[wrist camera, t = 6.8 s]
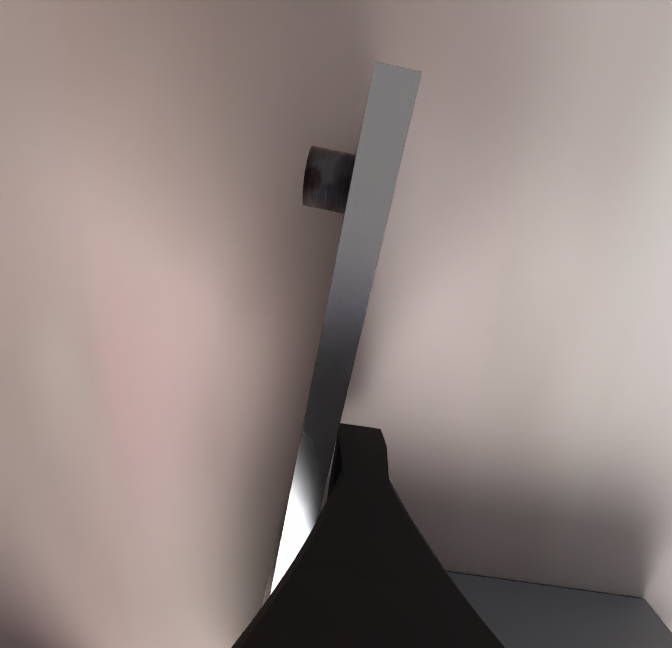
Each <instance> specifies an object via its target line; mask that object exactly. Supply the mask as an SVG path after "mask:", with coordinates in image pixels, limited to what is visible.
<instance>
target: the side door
mask: <svg viewBox="0 0 672 648" xmlns="http://www.w3.org/2000/svg"><path fill="white" fill-rule="evenodd" d="M421 73H422V72H420V71H416V70H411V69H407V68H402V67H398V66H393V65H388V64H384V63H379V62H374V67H373V72H372V78H371V83H370V88H369V93H368V98H367V103H366V108H365V113H364V118H363V124H362V129H361V134H360V139H359V144H358V149H357V154H356V155H354V154H349V153H344V152H340V151H335V150H330V149H325V148H321V147H316V146H312V147H311V149H310V152H309V155H308V159H307V164H306V169H305V176H304V184H303V205H305V206H310V207H314V208H319V209H324V210H329V211H334V212H339V213H343V214H345V216H344V221H343V226H342V231H341V236H340V241H339V246H338V251H337V256H336V262H335V267H334V272H333V277H332V282H331V287H330V292H329V297H328V302H327V308H326V313H325V318H324V323H323V328H322V333H321V338H320V343H319V348H318V354H317V359H316V364H315V369H314V374H313V379H312V384H311V389H310V394H309V400H308V405H307V410H306V415H305V420H304V425H303V430H302V435H301V440H300V446H299V451H298V456H297V461H296V466H295V471H294V476H293V481H292V487H291V492H290V497H289V502H288V507H287V512H286V517H285V522H284V527H283V531H281V532H280V533H279V534H278V536H277V540H276V545H275V549H274V553H273V558H272V562H271V567H270V571H269V575H268V580H267V584H266V589H265V593H264V598H263V602H262V606H263V605H264V603H265V602H266V600H267V599H268V598H269V596H270V595H271V593H272V592H273V590H274V589H275V587H276V586H277V584H278V583H279V581H280V580H281V578H282V577H283V575H284V574H285V572H286V571H287V569H288V568H289V566H290V565H291V563H292V562H293V560H294V559H295V557H296V555H297V554H298V552H299V550H300V549H301V547H302V546H303V544H304V542H305V541H306V539H307V537H308V536H309V534H310V532H311V530H312V529H313V527H314V525H315V523H316V521H317V519H318V515H319V511H320V506H321V502H322V498H323V493H324V489H325V485H326V481H327V476H328V472H329V468H330V463H331V459H332V455H333V451H334V446H335V442H336V438H337V433H338V429H339V425H340V420H341V416H342V412H343V408H344V403H345V399H346V395H347V390H348V386H349V382H350V378H351V373H352V369H353V365H354V360H355V356H356V352H357V347H358V343H359V339H360V335H361V330H362V326H363V322H364V317H365V313H366V309H367V305H368V300H369V296H370V292H371V287H372V283H373V279H374V274H375V270H376V266H377V262H378V257H379V253H380V249H381V244H382V240H383V236H384V232H385V227H386V223H387V219H388V214H389V210H390V206H391V201H392V197H393V193H394V189H395V184H396V180H397V176H398V171H399V167H400V163H401V159H402V154H403V150H404V146H405V141H406V137H407V133H408V128H409V124H410V120H411V116H412V111H413V107H414V103H415V98H416V94H417V90H418V86H419V81H420V77H421ZM262 606H261V608H262Z"/></svg>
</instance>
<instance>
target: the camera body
mask: <svg viewBox="0 0 672 648" xmlns="http://www.w3.org/2000/svg"><path fill="white" fill-rule="evenodd" d="M447 573H448V574H449V576H450V577H451V579H452V580H453V581H454V583H455V584H456V586H457V587H458V588H459V590H460V591H461V592H462V594H463V595H464V596H465V598H466V599H467V600H468V602H469V603H470V604H471V605H472V607H473V608H474V609H475V611H476V612H477V613H478V615H479V616H480V617H481V619H482V620H483V621H484V623H485V624H486V625H487V626H488V627H489V629H490V630H491V631H492V632H493V633H494V635H495V636H496V637H497V638H498V639H499V641H500V642H501V643H502V644H503V645H504V647H505V648H672V633H671V632H670V630H669V629H668V628H667V627H666V625H665V624H664V623H663V621H662V620H661V619H660V618H659V616H658V615H657V614H656V613H655V611H654V610H653V609H652V607H651V606H650V605H649V604H648V602H647V601H646V600H645V599H641V598H633V597H626V596H619V595H612V594H604V593H597V592H590V591H583V590H575V589H568V588H561V587H554V586H546V585H539V584H532V583H525V582H517V581H510V580H503V579H496V578H488V577H481V576H474V575H467V574H459V573H452V572H447Z"/></svg>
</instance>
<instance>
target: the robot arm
mask: <svg viewBox="0 0 672 648" xmlns="http://www.w3.org/2000/svg"><path fill="white" fill-rule="evenodd" d="M232 648H505V647H504V645H503V644H502V643H501V642H500V641H499V639H498V638H497V637H496V636H495V635H494V633H493V632H492V631H491V630H490V629H489V627H488V626H487V625H486V624H485V623H484V621H483V620H482V619H481V617H480V616H479V615H478V613H477V612H476V611H475V609H474V608H473V607H472V605H471V604H470V603H469V602H468V600H467V599H466V598H465V596H464V595H463V594H462V592H461V591H460V590H459V588H458V587H457V586H456V584H455V583H454V581H453V580H452V579H451V577H450V576H449V574H448V573H447V572H446V570H445V569H444V567H443V566H442V565H441V563H440V562H439V560H438V559H437V557H436V556H435V555H434V553H433V552H432V550H431V549H430V547H429V546H428V544H427V542H426V541H425V539H424V538H423V536H422V535H421V533H420V532H419V530H418V528H417V527H416V525H415V524H414V522H413V520H412V519H411V517H410V516H409V514H408V512H407V510H406V509H405V507H404V505H403V504H402V502H401V500H400V498H399V497H398V495H397V493H396V491H395V489H394V487H393V486H392V484H391V482H390V480H389V473H388V459H387V447H386V444H385V440H384V437H383V434H382V432H381V429H376V428H370V427H363V426H356V425H349V424H342V423H340V425H339V429H338V433H337V439H336V445H335V451H334V457H333V463H332V470H331V476H330V482H329V488H328V497H327V502H326V504H325V506H324V508H323V510H322V512H321V514H320V516H319V518H318V520H317V521H316V523H315V525H314V527H313V529H312V530H311V532H310V534H309V536H308V537H307V539H306V541H305V542H304V544H303V546H302V547H301V549H300V550H299V552H298V554H297V555H296V557H295V559H294V560H293V562H292V563H291V565H290V566H289V568H288V569H287V571H286V572H285V574H284V575H283V577H282V578H281V580H280V581H279V583H278V584H277V586H276V587H275V589H274V590H273V592H272V593H271V595H270V596H269V598H268V599H267V600H266V602H265V603H264V605H263V606H262V608H261V609H260V610H259V612H258V613H257V615H256V616H255V617H254V619H253V620H252V621H251V623H250V624H249V625H248V627H247V628H246V629H245V631H244V632H243V633H242V635H241V636H240V637H239V639H238V640H237V641H236V642H235V644H234V645H233V646H232Z"/></svg>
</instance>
